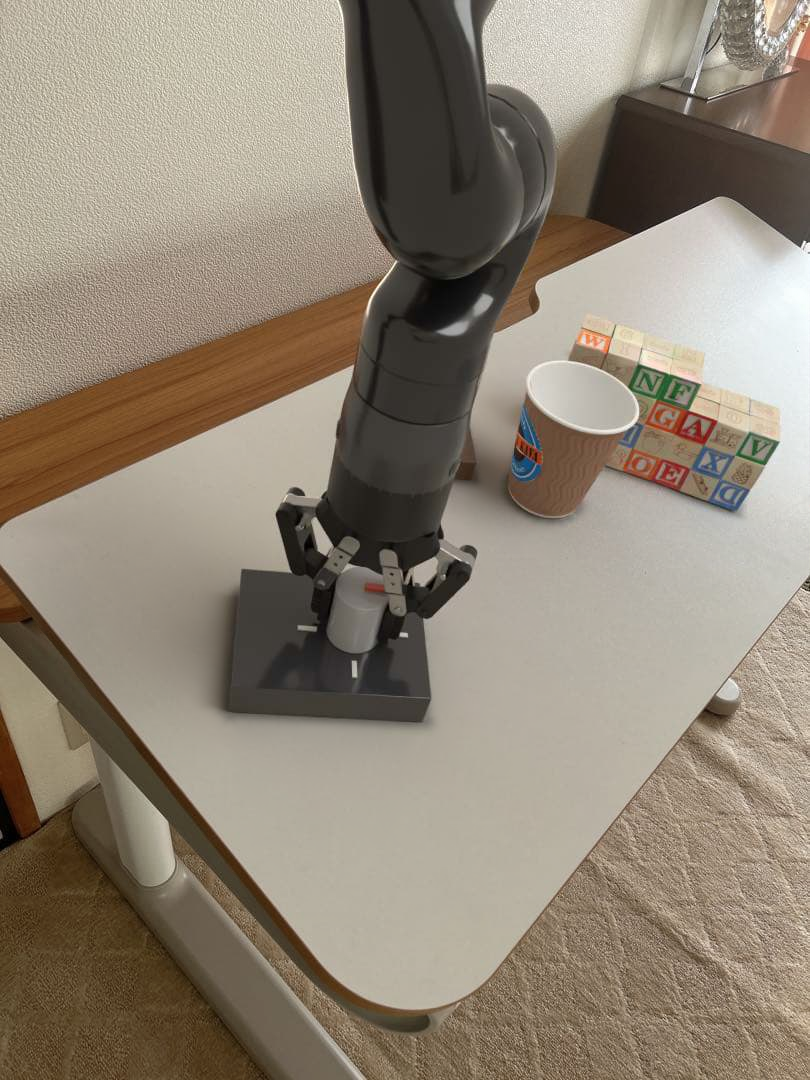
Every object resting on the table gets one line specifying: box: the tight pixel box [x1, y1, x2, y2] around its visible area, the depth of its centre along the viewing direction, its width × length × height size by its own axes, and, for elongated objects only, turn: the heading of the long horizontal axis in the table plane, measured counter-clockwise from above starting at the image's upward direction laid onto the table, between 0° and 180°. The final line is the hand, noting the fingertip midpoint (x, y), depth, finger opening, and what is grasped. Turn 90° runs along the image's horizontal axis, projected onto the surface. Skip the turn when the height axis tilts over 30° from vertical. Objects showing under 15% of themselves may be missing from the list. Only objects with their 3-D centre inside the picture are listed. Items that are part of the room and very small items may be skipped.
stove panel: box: [228, 568, 432, 723], centre depth 66 cm, size 14×11×3 cm
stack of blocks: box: [567, 313, 781, 512], centre depth 88 cm, size 21×6×12 cm, turn 71°
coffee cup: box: [508, 360, 639, 519], centre depth 81 cm, size 10×10×12 cm
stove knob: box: [326, 566, 389, 653], centre depth 64 cm, size 4×4×5 cm
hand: (355, 623), depth 65 cm, fingers closed on stove knob, 4 cm apart
